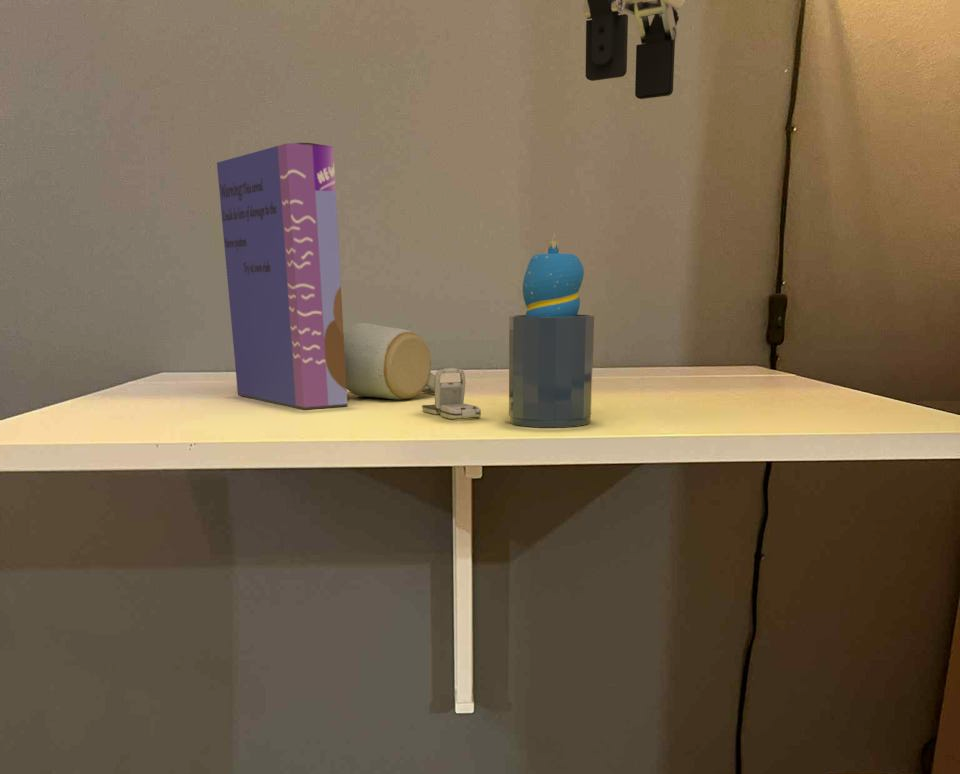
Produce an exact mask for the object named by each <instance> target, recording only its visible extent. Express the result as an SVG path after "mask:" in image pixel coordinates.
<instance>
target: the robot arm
mask: <svg viewBox="0 0 960 774" xmlns="http://www.w3.org/2000/svg"><path fill="white" fill-rule="evenodd" d="M685 2H686V0H584V3H583V15H584V17H585V19H586V20H585V78H586V79H587V80H588V81H591V82H595V81H602V80H609V79H617V78H624V76H626V74H627V71H628V38H629V37H628V34H629V33H628V32H629V15H632V16H634V17H635V22H636V25H637V26H636V27H637V29H638V34H639V40H640V43H641V44H636V45H635V46H636V47H635V48H636V49H635V79H634V81H635V84H634V85H635V86H634V94H635V95H634V96H635V97H636V98H637V99H639V100H646V99H654V98H662V97H669V96H671V95H672V94H673V92H674V77H675V76H674V74H675V52H676V41H677V37H678V35H677V34H678V32H677V24H678V22H679V19H680V16H679V13H678V11H679V8H681V7H682V6H683V5H684V4H685ZM623 12H624V13H623ZM628 14H629V15H628ZM650 16H653V18H652V20H651V23H650V21H649V17H650Z"/></svg>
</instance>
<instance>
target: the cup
mask: <svg viewBox="0 0 960 774" xmlns="http://www.w3.org/2000/svg"><path fill="white" fill-rule="evenodd" d="M525 316H526V314H514V315H513V314H512V315H509V316H508V361H509V362H508V417H509V423H510V424H511V425H515V426H518V427H519V426H520V427H527V428H528V427H529V428H546V429H547V428H548V429H549V428H553V429H554V428H555V429H556V428H572V427H581V426H586V425H589V424H590V423H591V422H592V409H593V408H592V406H593V405H592V404H593V403H592V401H593V375H594V374H593V373H594V372H593V371H594V339H595V337H594V336H595V315H593V314H577V316H576V317H525Z"/></svg>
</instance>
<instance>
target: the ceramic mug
mask: <svg viewBox="0 0 960 774" xmlns="http://www.w3.org/2000/svg"><path fill="white" fill-rule="evenodd" d="M343 334H344V352H345V371H346V389H347V392H350V393H351V394H353V395H356V396H359V397H366V398H367V397H368V398H376V399H387V400H395V401H399V400H400V401H402V400H407V399H412V398H415V397H416V396H418V395H419V394H420V393H424V394H429V395H432V394H434V395H435V385H434V383H435V377H436V374H434V373H432V357H431V352H430V349H429V347H428V344H427V343H426V341H425V340H424V339H423V338H422V337H421V336H420V335H418V334H416V333H415V332H414V331H413V332H412V331H410V330H408V329H404V328H398V327H391V326H385V325H378V324H374V323H368V322H361V323H356V324H354V325H352V326H350V327H349V328H348V329H347V330H346V331H344V332H343Z"/></svg>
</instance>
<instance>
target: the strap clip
mask: <svg viewBox="0 0 960 774" xmlns="http://www.w3.org/2000/svg"><path fill="white" fill-rule="evenodd" d="M444 374H459V377H460V381H449V382H441V375H444ZM435 376H436V377H435V383H434V385H435V393H434V404H423V405H421V409H422V411H423V412H424V413H428V414H432V415H440V417H442V418H446V419H449V420H453V419H454V420H455V419H471V418H472V419H473V418H480V417H481V416H482V410H481V408H480V407H479V406H478V405H473V404H468V403H465V394H466V383H467V382H466V375H465V372H464V370H463V368H457V367H447V368H446V367H445V368H440V369H437V371H436V373H435Z"/></svg>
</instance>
